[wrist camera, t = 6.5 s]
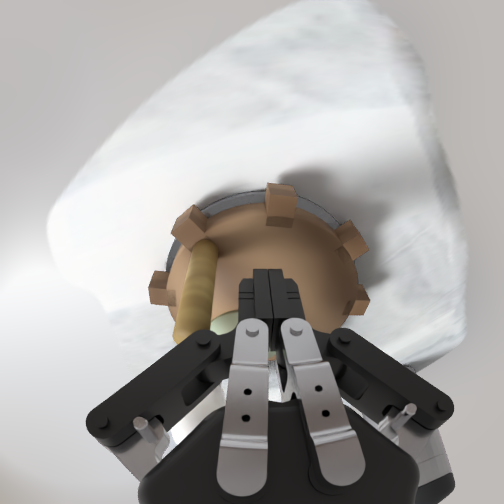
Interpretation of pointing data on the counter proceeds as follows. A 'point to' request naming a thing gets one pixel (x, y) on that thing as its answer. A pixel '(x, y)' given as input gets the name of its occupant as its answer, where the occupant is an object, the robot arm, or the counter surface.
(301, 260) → the sprocket
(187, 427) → the lightbulb
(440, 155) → the counter surface
